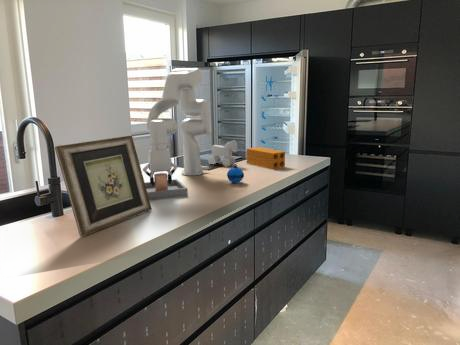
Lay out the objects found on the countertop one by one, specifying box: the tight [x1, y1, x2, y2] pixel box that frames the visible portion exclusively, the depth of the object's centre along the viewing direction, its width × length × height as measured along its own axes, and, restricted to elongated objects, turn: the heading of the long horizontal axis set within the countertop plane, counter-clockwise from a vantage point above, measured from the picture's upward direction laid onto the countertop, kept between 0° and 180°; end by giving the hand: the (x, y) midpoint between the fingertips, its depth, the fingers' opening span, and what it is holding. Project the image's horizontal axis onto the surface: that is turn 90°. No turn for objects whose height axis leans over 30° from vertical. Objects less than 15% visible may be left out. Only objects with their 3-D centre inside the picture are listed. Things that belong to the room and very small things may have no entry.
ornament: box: [226, 163, 245, 184], centre depth 191 cm, size 9×9×10 cm
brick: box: [246, 146, 286, 170], centre depth 236 cm, size 26×10×10 cm, turn 35°
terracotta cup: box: [153, 172, 168, 191], centre depth 175 cm, size 6×6×8 cm
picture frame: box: [54, 135, 153, 237], centre depth 135 cm, size 33×10×30 cm, turn 148°
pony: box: [207, 139, 239, 168], centre depth 237 cm, size 20×10×17 cm, turn 58°
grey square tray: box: [144, 178, 189, 201], centre depth 175 cm, size 20×20×4 cm
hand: (161, 184), depth 175 cm, fingers open, 7 cm apart
